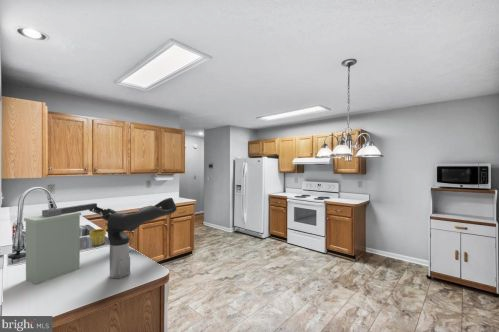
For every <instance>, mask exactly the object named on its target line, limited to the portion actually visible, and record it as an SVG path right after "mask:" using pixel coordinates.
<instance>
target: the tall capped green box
mask: <svg viewBox="0 0 499 332" xmlns="http://www.w3.org/2000/svg"><path fill="white" fill-rule="evenodd" d="M81 215H82V211H78V212H73V213H67V214H62V215H58V216H52V217H45V216H42V214H41V215H40V214H39V215H35V216H29V217H23V221H24V222H25V281H27V282H29V283H31V284H34V285H36V286H37V285H39V284H41V283H45V282H47V281H51V280H52V279H55V278H58V277H61V276H62V275H66V274H68V273H72V272H74V271H76V270H79V269H80V267H81V266H80V264H81V263H80V261H81V260H80V256H81V255H80V253H81V252H80V249H81V247H80V246H81V245H80V243H81V241H80V236H81V235H80V233H81V230H80V228H81V226H80V216H81Z"/></svg>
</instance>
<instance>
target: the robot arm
mask: <svg viewBox="0 0 499 332" xmlns="http://www.w3.org/2000/svg"><path fill="white" fill-rule="evenodd" d="M176 211H177V206H176V204H175V201H174V199H173V197H168V198H165V199H163V200H161V201H160V202H157V203H156V204H155V205H147V206H143V207H142V208H140V209H138V211H137V212H132V213H124V212H123V213H121V212H118V211H116V210H114V209H111V208H101V207H98V206H97V207H95V208H94V209H90V210H88V212H92V213H94V214H96V215H99V216H101V219H102V220H104V221H107V228H106V229H107V230H106V231H107V240H108V242H109V277H110V278H111V279H122V278H124V277H126V276H129V275H130V274H131V256H130V237H129V235H127V234H126V233H125V232H133V231H135V230H137V229H138V228H140V226H141V225H142V224H144V223H148V222H151V221H154V220H156V219H158V218H162V217H165V216H168V215H173V214H174V213H175V212H176Z"/></svg>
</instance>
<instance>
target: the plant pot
mask: <svg viewBox="0 0 499 332" xmlns="http://www.w3.org/2000/svg"><path fill="white" fill-rule="evenodd" d="M106 229H107V228H106ZM106 229H105V228H98V229H92V230H90V231H89V238H90V239H91V243H92V246H100V245H101V246H102V244H104V243H105V237H106V235H107V230H106Z"/></svg>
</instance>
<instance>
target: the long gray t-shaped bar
mask: <svg viewBox="0 0 499 332" xmlns="http://www.w3.org/2000/svg"><path fill="white" fill-rule="evenodd" d="M95 207H98V203H96V202H94V203H86V204H78V205H72V206H65V207H58V208H55V207H54V208H50V209H42V210H41V215H42V216H45V217H52V216H58V215H62V214H67V213H73V212H83V211H89V210H90V209H93V210H94V208H95Z"/></svg>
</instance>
